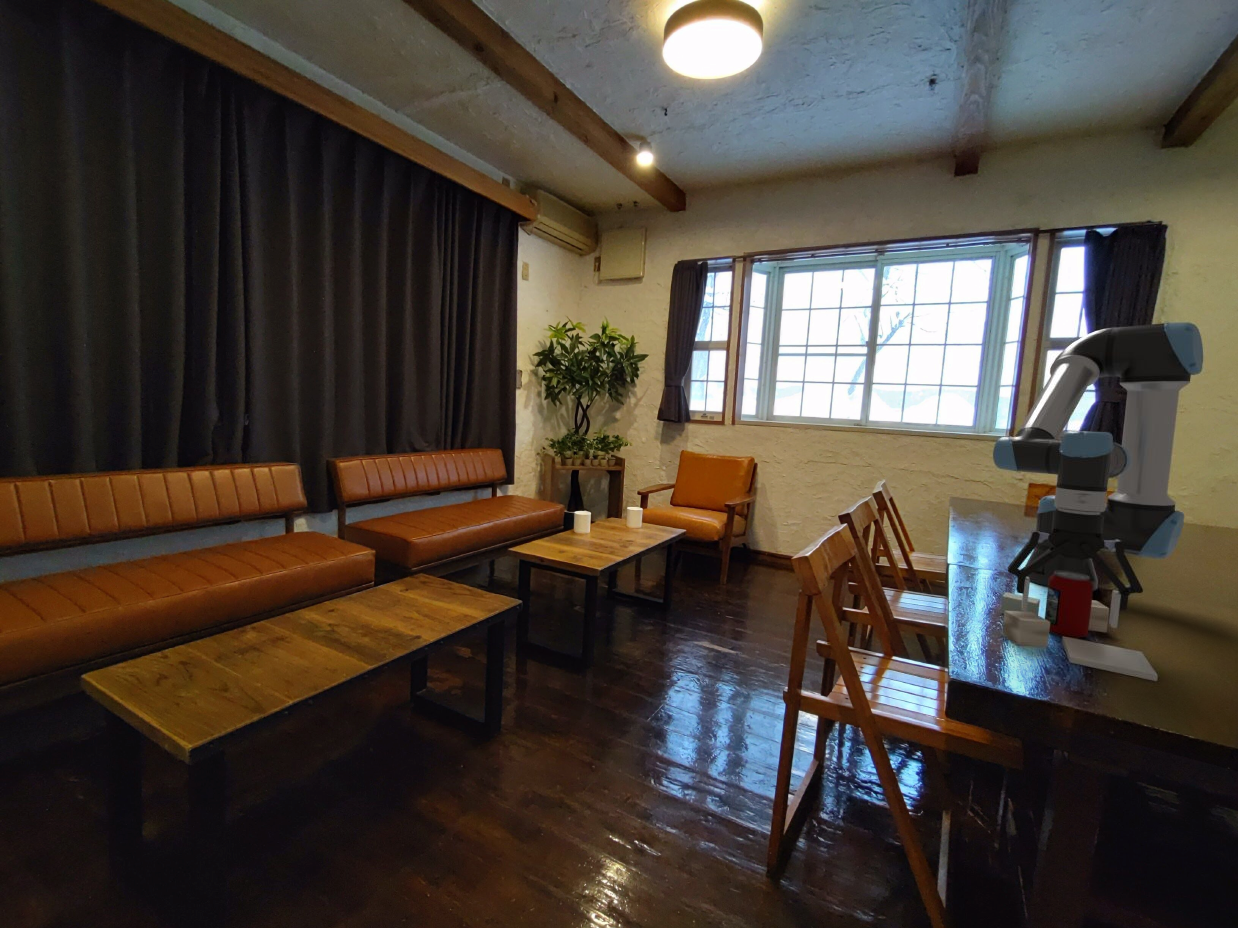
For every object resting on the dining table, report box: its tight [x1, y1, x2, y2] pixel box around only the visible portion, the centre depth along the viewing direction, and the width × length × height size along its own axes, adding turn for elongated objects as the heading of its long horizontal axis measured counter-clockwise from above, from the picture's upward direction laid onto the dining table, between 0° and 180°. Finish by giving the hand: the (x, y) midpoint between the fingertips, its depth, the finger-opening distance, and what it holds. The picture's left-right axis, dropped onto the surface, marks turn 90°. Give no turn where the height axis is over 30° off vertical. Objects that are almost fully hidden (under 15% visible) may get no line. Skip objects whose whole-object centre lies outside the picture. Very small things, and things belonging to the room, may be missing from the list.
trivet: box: [1061, 636, 1159, 682], centre depth 95 cm, size 11×11×1 cm
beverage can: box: [1044, 570, 1094, 639], centre depth 106 cm, size 7×7×12 cm
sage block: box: [1000, 591, 1041, 616], centre depth 117 cm, size 4×6×4 cm, turn 45°
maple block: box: [1002, 611, 1050, 649], centre depth 102 cm, size 5×5×5 cm
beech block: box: [1088, 599, 1110, 633], centre depth 111 cm, size 5×5×5 cm
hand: (1066, 617), depth 107 cm, fingers open, 13 cm apart
